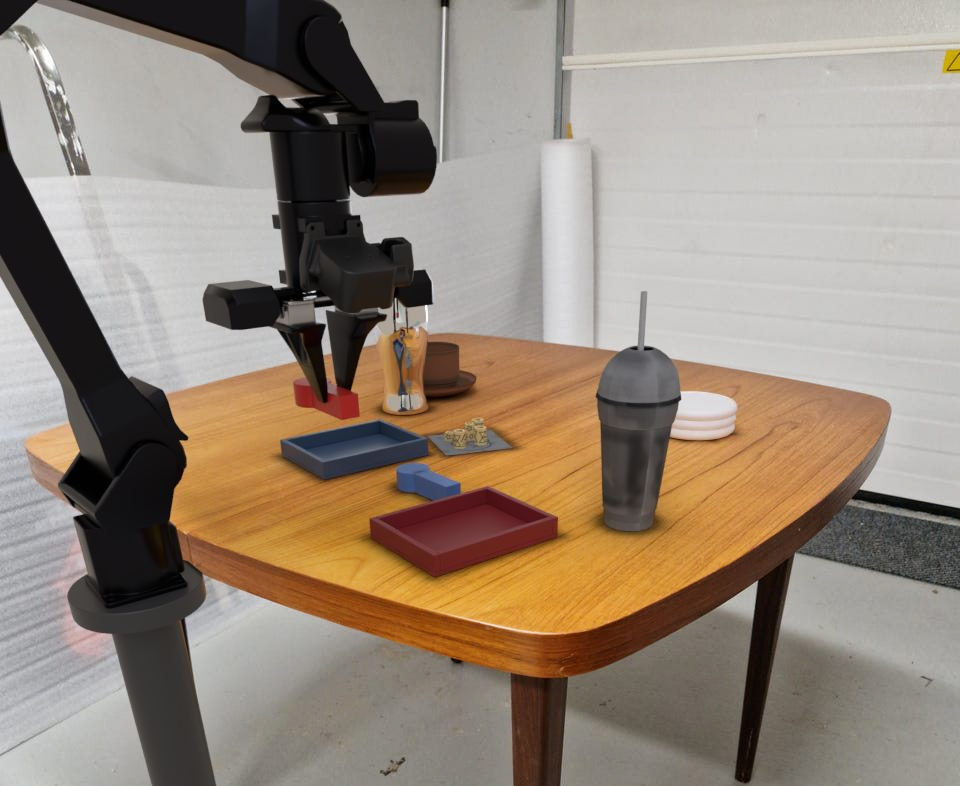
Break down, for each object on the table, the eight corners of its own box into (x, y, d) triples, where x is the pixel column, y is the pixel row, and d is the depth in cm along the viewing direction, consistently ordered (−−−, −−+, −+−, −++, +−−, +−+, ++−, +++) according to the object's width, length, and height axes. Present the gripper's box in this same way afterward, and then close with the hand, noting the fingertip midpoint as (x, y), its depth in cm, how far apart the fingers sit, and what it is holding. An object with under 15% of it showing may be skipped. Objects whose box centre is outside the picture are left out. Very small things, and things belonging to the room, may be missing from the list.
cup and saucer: (424, 408, 113) (422, 360, 110) (375, 391, 122) (372, 346, 118) (493, 393, 120) (493, 347, 117) (443, 377, 128) (441, 335, 125)
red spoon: (368, 415, 74) (366, 391, 73) (333, 422, 73) (331, 398, 72) (322, 396, 80) (319, 374, 79) (289, 402, 78) (286, 380, 77)
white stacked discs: (752, 432, 102) (756, 403, 100) (689, 446, 98) (692, 416, 96) (693, 413, 109) (696, 386, 108) (633, 425, 105) (635, 397, 103)
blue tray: (324, 479, 89) (322, 462, 88) (281, 456, 97) (279, 439, 96) (428, 455, 96) (428, 438, 95) (381, 434, 103) (380, 418, 102)
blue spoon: (467, 500, 84) (467, 480, 83) (440, 508, 82) (439, 489, 81) (417, 479, 89) (416, 460, 88) (390, 486, 87) (389, 467, 86)
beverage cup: (673, 512, 80) (698, 284, 70) (662, 541, 74) (686, 297, 64) (597, 503, 83) (610, 281, 72) (580, 532, 77) (592, 294, 67)
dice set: (481, 433, 103) (481, 417, 102) (495, 445, 99) (495, 428, 98) (441, 437, 102) (441, 421, 101) (454, 449, 98) (453, 433, 97)
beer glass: (430, 416, 110) (424, 291, 103) (376, 416, 110) (367, 292, 103) (433, 402, 116) (428, 283, 109) (382, 402, 116) (374, 284, 109)
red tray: (434, 577, 69) (433, 555, 68) (370, 537, 76) (368, 518, 75) (557, 536, 76) (558, 516, 75) (488, 504, 83) (488, 485, 82)
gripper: (246, 211, 57) (277, 442, 64) (470, 198, 66) (474, 400, 74) (183, 204, 64) (218, 411, 72) (393, 194, 74) (403, 377, 82)
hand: (333, 400), depth 75 cm, fingers closed on red spoon, 2 cm apart
